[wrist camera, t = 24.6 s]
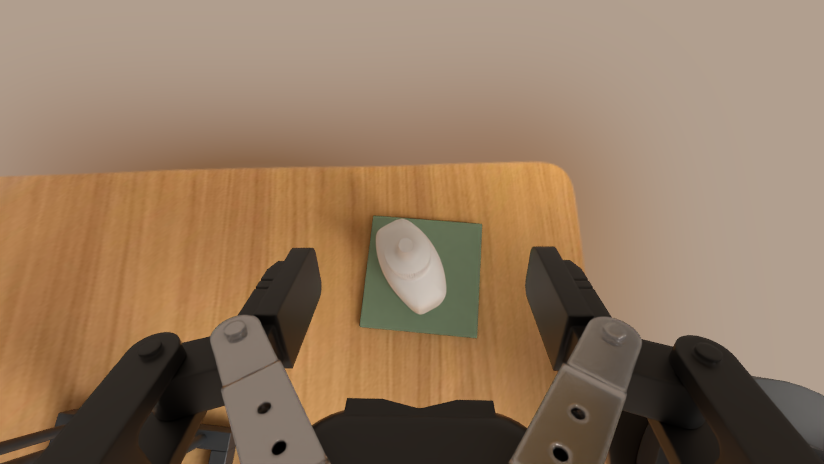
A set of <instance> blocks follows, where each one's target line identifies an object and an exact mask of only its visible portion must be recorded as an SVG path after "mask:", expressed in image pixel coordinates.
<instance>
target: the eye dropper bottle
mask: <svg viewBox="0 0 824 464" xmlns="http://www.w3.org/2000/svg"><path fill="white" fill-rule="evenodd" d="M376 251H377V256H378V260H379V264H380V267H381V269H382V272H383V274H384V276H385V278H386V280H387V281H388V283H389V285H390V286H391V288H392V289H393V290H394V292H395V293H396V294H397V295H398V296H399V298H400V299H401V300H402V301H403V302H404V303H405V304H406V305H407V306H408V307H409V308H410V309H411V310H412V311H414V312H415V313H417V314H419V315H421V314H425V313H427V312H429V311H430V310H432V309H434V308H436V307H437V306H439V305H440V304H441V303H442V301H443V300H444V298H445V295H446V279H445V273H444V269H443V266H442V263H441V260H440V257H439V255H438V253H437V251H436V249H435V247H434V246H433V244H432V243H431V241H430V240H429V239H428V237H427V236H426V235H425V234H424V233H423V232H422V231H421V230H420V229H419V228H418V227H417V226H415V225H414V224H413V223H411V222H410V221H408V220H406V219H398V220H395V221H393V222H391V223H389V224H387V225H385V226H384V227H382V228H380V229H379V231H378V232H377V234H376Z"/></svg>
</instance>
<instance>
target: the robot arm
mask: <svg viewBox="0 0 824 464" xmlns="http://www.w3.org/2000/svg"><path fill="white" fill-rule="evenodd" d="M525 288H526V295H527V299H528V302H529V304H530V307H531V310H532V313H533V315H534V318H535V321H536V324H537V326H538V329H539V332H540V335H541V337H542V340H543V343H544V346H545V348H546V351H547V354H548V357H549V359H550V362H551V365H552V368H553V370H554V371H558V373H557V375H556V377H555V379H554V381H553V382H552V384H551V386H550V388H549V390H548V392H547V394H546V395H545V397H544V399H543V401H542V403H541V405H540V406H539V408H538V410H537V412H536V414H535V416H534V417H533V419H532V421H531V423H530V425H529V427H528V428H526V427H525V426H523V425H522V424H520V423H519V422H517V421H515V420H513V419H511V418H509V417H506V416H504V415H501V414H498V413H495V409H494V403H493V401H486V400H455V401H450V402H446V403H442V404H438V405H433V406H429V407H425V408H415V407H411V406H407V405H403V404H400V403H396V402H392V401H389V400H385V399H360V398H347V401H346V406H345V410H344V411H340V412H337V413H334V414H331V415H329V416H327V417H325V418H323V419H321V420H320V421H318V422H316V423H315V424H313V425H311V423H310V421H309V419H308V417H307V415H306V413H305V411H304V409H303V406H302V404H301V402H300V400H299V398H298V396H297V394H296V392H295V390H294V387H293V385H292V383H291V381H290V379H289V377H288V375H287V373H286V371H285V369H284V368H293V366H294V363H295V361H296V358H297V355H298V353H299V350H300V348H301V345H302V342H303V340H304V337H305V335H306V332H307V329H308V327H309V324H310V322H311V319H312V317H313V314H314V311H315V309H316V306H317V304H318V301H319V298H320V295H321V278H320V272H319V267H318V262H317V257H316V253H315V250H314V248H292V249H291V250H290V252H289V254H288V255H287V257H286V259H285V260H284V261H278V262H276V263H275V264H274V265H272V266H271V267H270V268H269V269H267V271H266V272H265V274H264V275H263V277H262V278H261V281H260V282H259V283H258V285H257V286H256V289H254V291H253V292H252V294H251V296H250V297H249V299H248V300H247V302H246V303H245V305H244V307H243V308H242V310H241V311H240V313H239V314H238V316H235V317H232V318H229V319H227V320H225V321H224V322H222V323H221V324H219V325H218V326H217V327H216V328H215V329H214V331H213V332H212V334H211V336H209V337H206V338H202V339H197V340H193V341H189V342H184V343H181V341H180V339H179V337H178V336H177V335H176V334H174V333H170V332H163V333H157V334H154V335H151V336H148V337H146V338H144V339H142V340H141V341H139V342H137V343H136V344H134V345H133V346H132V347H131V348H130V349H129V350H128V351H127V352H126V353H125V354H124V356H123V357H122V358H121V359H120V360H119V362H118V363H117V364H116V365H115V366H114V368H113V369H112V370H111V371H110V372H109V374H108V375H107V376H106V377H105V378H104V380H103V381H102V382H101V383H100V384H99V386H98V387H97V388H96V389H95V390H94V392H93V393H92V394H91V395H90V396H89V398H88V399H87V400H86V401H85V402H84V404H83V405H82V406H81V407H80V408H79V410H78V411H77V412H76V413H75V414H74V416H73V417H72V418H71V419H70V420H69V422H68V423H67V424H66V425H65V426H64V428H63V429H62V430H61V431H60V432H59V434H58V435H57V436H56V437H55V438H54V440H53V441H52V442H51V443H50V444H49V446H48V447H47V448H46V449H45V450H44V452H43V453H42V454H41V455H40V456H39V458H38V459H37V460H36V461H35V462H34V464H181V463H182V461H183V459H184V457H185V455H186V453H187V451H188V449H189V447H190V445H191V443H192V441H193V439H194V436H195V434H196V432H197V430H198V428H199V426H200V424H201V422H202V420H203V418H204V416H205V414H206V412H207V410H211V409H214V408H218V407H221V406H225V408H226V412H227V415H228V419H229V423H230V426H231V430H232V434H233V438H234V441H235V445H236V449H237V452H238V456H239V460H240V463H241V464H604V463H605V460H606V457H607V454H608V451H609V448H610V445H611V442H612V439H613V436H614V433H615V430H616V427H617V424H618V421H619V418H620V415H621V411H622V410H623V411H626V412H629V413H633V414H636V415H639V416H643V417H646V418H647V419H648V421H649V423H650V425H651V427H652V429H653V431H654V433H655V435H656V437H657V439H658V441H659V443H660V445H661V447H662V449H663V451H664V454H665V456H666V458H667V460H668V462H669V464H824V451H823V450H821V449H818V448H816V447H814V446H811V445H809V444H808V443H807V442H806V440H805V439H804V438H803V437H802V436H801V434H800V433H799V432H798V431H797V430H796V428H795V427H794V426H793V425H792V424H791V423H790V421H789V420H788V419H787V418H786V417H785V415H784V414H783V413H782V412H781V411H780V409H779V408H778V407H777V406H776V405H775V404H774V402H773V401H772V400H771V399H770V398H769V396H768V395H767V394H766V393H765V392H764V390H763V389H762V388H761V387H760V386H759V385H758V383H757V382H756V381H755V380H754V379H753V377H752V376H751V375H750V374H749V373H748V371H747V370H746V369H745V368H744V367H743V365H741V363H740V362H739V361H738V360H737V358H736V357H735V356H734V355H733V354H732V353H731V352H729V351H728V350H727V349H726V348H724V347H723V346H721V345H720V344H718V343H716V342H714V341H712V340H709V339H706V338H703V337H699V336H693V335H687V336H682V337H680V338H678V339H677V341H676V343H675V344H674V346H673V347H672V346H667V345H663V344H659V343H655V342H650V341H647V340H643V339H641V337H640V335H639V334H638V333H637V332H636V330H635V329H634V328H632V327H631V326H630V325H628V324H627V323H625V322H623V321H621V320H618V319H615V318H612V317H611V316H610V314H609V312H608V311H607V309H606V308H605V306H604V304H603V303H602V301H601V300H600V298H599V296H598V295H597V293H596V292H595V290H594V289H593V287H592V285H591V284H590V282H589V281H588V279H587V277H586V276H585V274H584V272H583V271H582V269H581V268H580V267H578V266H577V265H576V264H574V263H573V262H572V261H570V260H562V258H561V256H560V254H559V253H558V251H557V249H556V248H555V247H532V249H531V253H530V258H529V264H528V270H527V276H526V283H525ZM151 411H152V412H151ZM149 414H150V415H149Z"/></svg>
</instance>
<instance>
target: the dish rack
mask: <svg viewBox="0 0 824 464" xmlns="http://www.w3.org/2000/svg"><path fill="white" fill-rule="evenodd" d="M77 411H78V410H75V409H74V410H69V411H65V412H61V413H59V414H58V417H57V420H56V424H55V427H54V428H50V429H46V430H43V431H39V432H35V433H32V434H28V435H24V436H21V437H17V438H14V439H10V440H6V441H3V442H0V455H2V454H5V453H9V452H12V451H15V450H19V449H22V448H25V447H28V446H32V445H35V444H38V443H42V442H45V441H48V440H50V443H51V442H52V441H53V440H54V438H55V437H56V436H57V435H58V434H59V432H60V431H61V430H62V429H63V428H64V426H65V425H66V424H67V423H68V422H69V420H70V419H71V418H72V417H73V416H74V414H75V413H76V412H77ZM50 443H49V444H50ZM235 446H236V445H235V441H234V438H233V434H232V430H231V427H223V426H214V425H205V424H200V426H199V428H198V430H197V432H196V434H195V436H194V439H193V441H192V443H191V445H190V447H189V449H188V451H187V453H188V452H190V451H192V450H193V449H195V448H201V449H209V450H211V454H210V458H209V463H208V464H232V463H233V458H234V453H235ZM44 450H45V449H44ZM44 450H41V451H38V452H35V453H32V454H28V455H25V456H22V457H19V458H16V459H13V460H10V461H7V462H4V463H1V464H34V462H35V461H36V460H37V459H38V458H39V456H40V455H41V454H42V453H43V452H44Z"/></svg>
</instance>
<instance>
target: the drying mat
mask: <svg viewBox="0 0 824 464" xmlns="http://www.w3.org/2000/svg"><path fill="white" fill-rule="evenodd" d="M398 219H406V220H408V221H410V222H411V223H413V224H414V225H415V226H417V227H418V228H419V229H420V230H421V231H422V232H423V233H424V234H425V235H426V236H427V237H428V239H429V240H430V241H431V243H432V244H433V246H434V247H435V249H436V251H437V253H438V255H439V257H440V260H441V263H442V266H443V269H444V273H445V279H446V295H445V298H444V300H443V301H442V303H441V304H440V305H439V306H437V307H436V308H434V309H432V310H430V311H429V312H427V313H425V314H421V315H419V314H417V313H415V312H414V311H412V310H411V309H410V308H409V307H408V306H407V305H406V304H405V303H404V302H403V301H402V300H401V299H400V298H399V296H398V295H397V294H396V293H395V292H394V290H393V289H392V288H391V286H390V285H389V283H388V281H387V280H386V278H385V276H384V274H383V272H382V269H381V267H380V264H379V260H378V256H377V251H376V234H377V232H378V231H379V229H380V228H382V227H384V226H385V225H387V224H389V223H391V222H393V221H395V220H398ZM481 238H482V224H476V223H463V222H450V221H437V220H424V219H411V218H399V217H386V216H373V222H372V230H371V238H370V246H369V254H368V262H367V270H366V278H365V286H364V294H363V302H362V310H361V318H360V327H366V328H376V329H386V330H397V331H407V332H418V333H428V334H438V335H449V336H459V337H469V338H477V328H478V306H479V283H480V260H481Z"/></svg>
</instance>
